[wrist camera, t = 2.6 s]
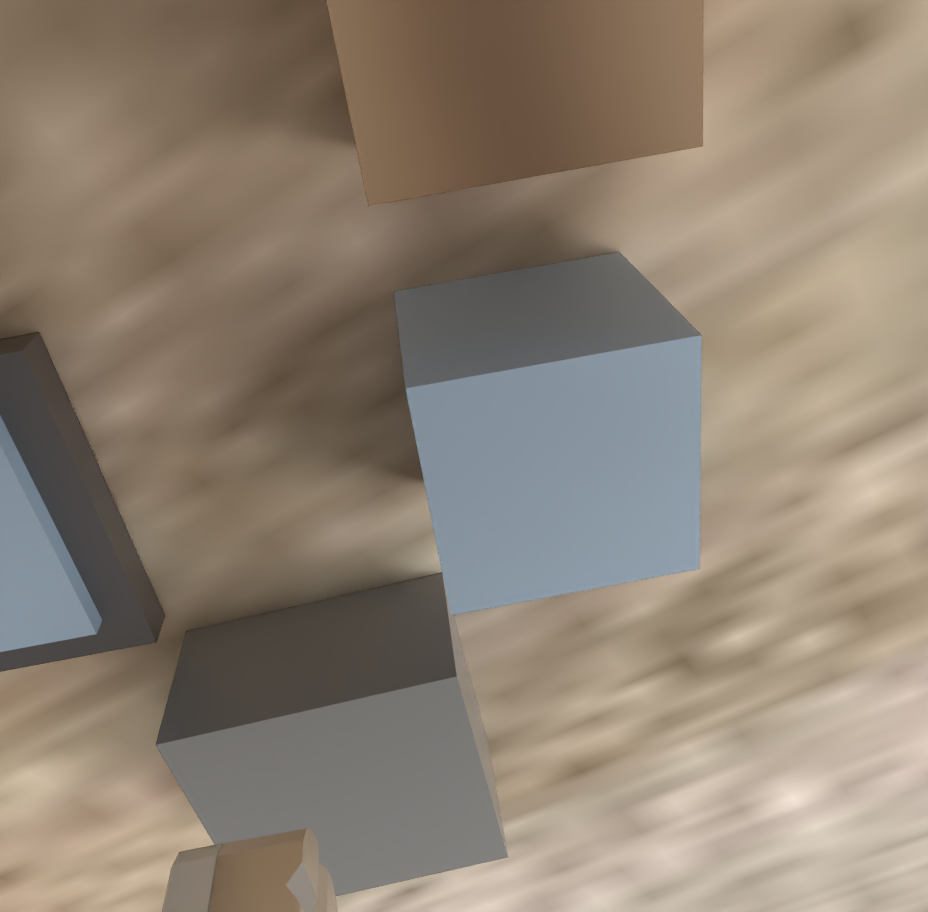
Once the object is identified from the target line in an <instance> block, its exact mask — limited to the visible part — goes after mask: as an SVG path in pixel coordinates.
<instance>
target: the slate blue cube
mask: <svg viewBox="0 0 928 912" xmlns="http://www.w3.org/2000/svg"><path fill="white" fill-rule="evenodd" d="M394 298H395V306H396V315H397V323H398V331H399V339H400V348H401V356H402V364H403V373H404V381H405V389H406V394H407V399H408V404H409V409H410V414H411V419H412V424H413V429H414V434H415V439H416V444H417V449H418V454H419V459H420V464H421V469H422V474H423V479H424V484H425V489H426V494H427V499H428V504H429V509H430V514H431V519H432V524H433V529H434V534H435V539H436V544H437V549H438V554H439V559H440V564H441V569H442V574H443V579H444V584H445V589H446V594H447V599H448V604H449V609H450V614H451V615H456V614H461V613H467V612H472V611H477V610H483V609H488V608H493V607H499V606H504V605H509V604H515V603H520V602H525V601H531V600H536V599H541V598H547V597H552V596H557V595H563V594H568V593H573V592H579V591H584V590H589V589H595V588H600V587H605V586H611V585H616V584H621V583H627V582H632V581H637V580H643V579H648V578H653V577H659V576H664V575H669V574H675V573H680V572H685V571H691V570H696V569H700V470H701V361H702V335H701V334H700V333H699V332H698V331H697V330H696V329H695V328H694V327H693V326H692V325H691V324H690V323H689V322H688V321H687V320H686V319H685V318H684V317H683V316H682V315H681V314H680V313H679V312H678V311H677V310H676V309H675V308H674V307H673V306H672V305H671V304H670V303H669V301H668V300H667V299H666V298H665V297H664V296H663V295H662V294H661V293H660V292H659V291H658V290H657V289H656V288H655V287H654V286H653V285H652V284H651V283H650V282H649V281H648V280H647V279H646V278H645V277H644V276H643V275H642V274H641V273H640V272H639V271H638V270H637V269H636V268H635V267H634V266H633V265H632V264H631V263H630V262H629V261H628V260H627V259H626V258H625V257H624V256H623V255H622V254H621V253H620V252H615V253H609V254H603V255H598V256H592V257H586V258H581V259H575V260H569V261H564V262H558V263H552V264H547V265H541V266H535V267H530V268H524V269H518V270H513V271H507V272H501V273H496V274H490V275H484V276H479V277H473V278H467V279H462V280H456V281H450V282H445V283H439V284H433V285H428V286H422V287H416V288H411V289H405V290H399V291H394Z"/></svg>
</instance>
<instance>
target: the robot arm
mask: <svg viewBox="0 0 928 912" xmlns="http://www.w3.org/2000/svg"><path fill="white" fill-rule="evenodd" d="M318 855H319V844H318V842H317V839H316V837H315V835H314V832H313V830H312V828H305V829H300V830H294V831H289V832H283V833H278V834H272V835H267V836H261V837H256V838H250V839H245V840H239V841H233V842H228V843H222V844H217V845H212V846H207V847H202V848H197V849H192V850H186V851H181V852H179V854H178V856H177V858H176V860H175V861H174V863H173V865H172V867H171V871H170V876H169V880H168V885H167V890H166V895H165V899H164V904H163V909H162V912H338V911H337V900H336V895H335V891H334V886H333V882H332V879H331V876H330V873H329V871H328V868H326V867H324V866H322V865H320V864H318Z"/></svg>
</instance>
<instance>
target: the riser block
mask: <svg viewBox="0 0 928 912" xmlns="http://www.w3.org/2000/svg"><path fill="white" fill-rule="evenodd" d="M156 747H157V748H158V750H159V752H160V753H161V755H162V757H163V758H164V760H165V762H166V763H167V765H168V767H169V769H170V770H171V772H172V774H173V775H174V777H175V779H176V780H177V782H178V784H179V785H180V787H181V789H182V790H183V792H184V794H185V796H186V797H187V799H188V801H189V802H190V804H191V806H192V807H193V809H194V811H195V812H196V814H197V816H198V817H199V819H200V821H201V823H202V824H203V826H204V828H205V829H206V831H207V833H208V834H209V836H210V838H211V839H212V841H213V843H214V845H217V844H222V843H228V842H233V841H239V840H245V839H250V838H256V837H261V836H267V835H272V834H278V833H283V832H289V831H294V830H300V829H305V828H312V830H313V832H314V835H315V837H316V839H317V842H318V844H319V855H318V864H320V865H322V866H324V867H326V868H328V871H329V873H330V876H331V879H332V882H333V886H334V891H335V895H336V896H339V895H344V894H348V893H353V892H357V891H361V890H366V889H370V888H375V887H379V886H383V885H388V884H392V883H397V882H401V881H405V880H410V879H414V878H419V877H423V876H427V875H432V874H436V873H441V872H445V871H450V870H454V869H458V868H463V867H467V866H472V865H476V864H480V863H485V862H489V861H494V860H498V859H502V858H507V857H508V854H507V848H506V842H505V837H504V831H503V825H502V819H501V813H500V807H499V801H498V795H497V790H496V784H495V778H494V772H493V766H492V760H491V754H490V749H489V744H488V740H487V736H486V733H485V729H484V725H483V721H482V718H481V714H480V710H479V707H478V703H477V699H476V696H475V692H474V688H473V685H472V681H471V677H470V673H469V670H468V666H467V662H466V659H465V655H464V651H463V648H462V644H461V640H460V637H459V633H458V629H457V625H456V622H455V618H454V615H451V614H450V609H449V604H448V599H447V594H446V589H445V584H444V579H443V574H442V573H439V574H434V575H430V576H426V577H421V578H417V579H412V580H408V581H404V582H399V583H395V584H391V585H386V586H382V587H377V588H373V589H369V590H364V591H360V592H356V593H351V594H347V595H342V596H338V597H334V598H329V599H325V600H321V601H316V602H312V603H307V604H303V605H299V606H294V607H290V608H286V609H281V610H277V611H272V612H268V613H264V614H259V615H255V616H251V617H246V618H242V619H237V620H233V621H229V622H224V623H220V624H216V625H211V626H207V627H202V628H198V629H194V630H189V631H186V634H185V637H184V641H183V645H182V648H181V652H180V656H179V660H178V663H177V667H176V671H175V675H174V678H173V682H172V686H171V689H170V693H169V697H168V701H167V704H166V708H165V712H164V716H163V719H162V723H161V727H160V730H159V734H158V738H157V742H156Z"/></svg>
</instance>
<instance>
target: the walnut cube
mask: <svg viewBox="0 0 928 912" xmlns="http://www.w3.org/2000/svg"><path fill="white" fill-rule="evenodd" d="M326 2H327V7H328V12H329V17H330V21H331V26H332V31H333V36H334V41H335V46H336V51H337V56H338V60H339V65H340V70H341V75H342V80H343V85H344V90H345V95H346V99H347V104H348V109H349V114H350V119H351V124H352V129H353V134H354V138H355V143H356V148H357V153H358V158H359V163H360V168H361V173H362V177H363V182H364V187H365V192H366V197H367V202H368V206H371V205H377V204H383V203H388V202H394V201H399V200H405V199H411V198H416V197H422V196H427V195H433V194H439V193H444V192H450V191H455V190H461V189H467V188H472V187H478V186H483V185H489V184H495V183H500V182H506V181H511V180H517V179H522V178H528V177H534V176H539V175H545V174H550V173H556V172H562V171H567V170H573V169H578V168H584V167H590V166H595V165H601V164H606V163H612V162H618V161H623V160H629V159H634V158H640V157H646V156H651V155H657V154H662V153H668V152H674V151H679V150H685V149H690V148H696V147H701V146H703V0H326Z"/></svg>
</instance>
